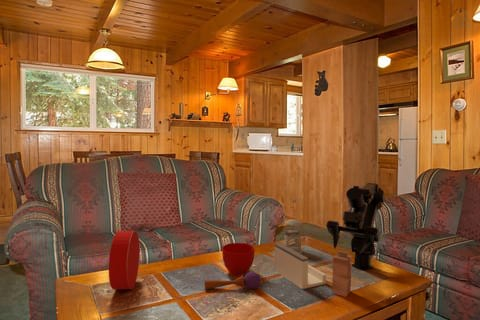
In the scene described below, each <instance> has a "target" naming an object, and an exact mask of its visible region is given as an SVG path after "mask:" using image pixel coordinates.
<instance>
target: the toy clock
mask: <svg viewBox="0 0 480 320" xmlns="http://www.w3.org/2000/svg"><path fill="white" fill-rule="evenodd" d="M140 251H141V250H140V237H139V234H138V231H136V230H117V231H116V232H115V234H114V236H113V238H112V242H111V245H110V250H109V255H108V256H109V257H108V279H109V284H110V287H111V289H112V290H133V289H134V287H135V285H136V282H137V278H138V272H139V266H140V265H139V264H140Z"/></svg>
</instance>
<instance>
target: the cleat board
mask: <svg viewBox="0 0 480 320" xmlns="http://www.w3.org/2000/svg"><path fill="white" fill-rule="evenodd" d="M286 246H287V245H286ZM286 246H284V243H283V244H282V242H280V243H279V242H277V243H274V260H273V263H274V264H273V268H274V269H273V270H274V271H275V272H276V273H278V274H279V275H280V276H282V277H284V278H285V279H286V280H288V281H289V282H290V283H292V284H294V285H295V286H297V288H299V289H301V290H304V289H308V288H312V287H313V288H314V287H318V286H322V285H326V284H327V274H326V273H324V272H322V271H320V270H319V269H318V268H315V267H313V266H311V265H310V264H309V257H307V256H305V255H303V254H302V253H300V254H299V253H298V252H296V251H294V250H292V249H290V248H288V247H286Z"/></svg>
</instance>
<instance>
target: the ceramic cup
mask: <svg viewBox="0 0 480 320" xmlns="http://www.w3.org/2000/svg"><path fill="white" fill-rule="evenodd" d="M255 249H256V248H255V246H254V245H251V244H249V243H245V242H231V243H226V244H224V245H223V246H222V249H221V252H222V261H223V263H224V267H225V269H227V271H228V272H229V273H230V274H231V275H233V276H242V275H244V276H245V275H246V274H247V273H248V271H249V270H250V269H251V267H252V265H253V263H254V260H255Z"/></svg>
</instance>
